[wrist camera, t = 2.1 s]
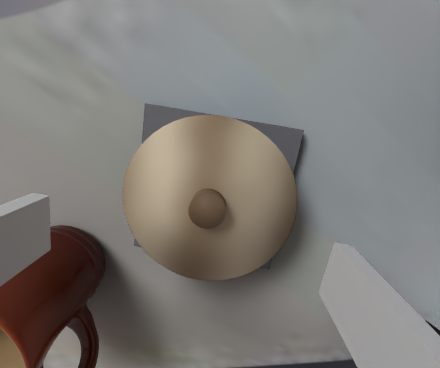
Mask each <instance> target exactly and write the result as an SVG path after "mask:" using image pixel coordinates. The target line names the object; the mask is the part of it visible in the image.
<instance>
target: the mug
mask: <svg viewBox="0 0 440 368" xmlns="http://www.w3.org/2000/svg"><path fill="white" fill-rule="evenodd" d="M50 241H51V250H49V251H48V252H47V253H45V254H44V255H43V256H41V257H40V258H39V259H37V260H36V261H34V262H33V263H32V264H30V265H29V266H28V267H26V268H25V269H24V270H22V271H21V272H19V273H18V274H17V275H15V276H14V277H13V278H11V279H10V280H9V281H7V282H6V283H4V284H3V285H2V286H0V368H43V361H44V359H45V357H46V355H47V353H48V351H49V349H50V347H51V345H52V344H53V342H54V341H55V339H56V338H57V337H58V335H59V334H60V333H61V331H62V330H63V329H64V328H65V327H66V326H68V327H69V328H71V329H72V330H73V331H74V332H75V333H76V334H77V336H78V338H79V340H80V343H81V358H80V363H79V366H78V368H95V366H96V363H97V358H98V351H99V338H98V333H97V330H96V326H95V323H94V320H93V317H92V314H91V312H90V311H89V309H88V308H87V301H88V300H89V299H90V298H91V297H92V296H93V294H94V293H95V291H96V289H97V287H98V286H99V284H100V281H101V279H102V277H103V274H104V270H105V260H104V255H103V253H102V250H101V248H100V247H99V245H98V244H97V242H96V241H95V240H94V239H93V238H92V237H91V236H89V235H88V234H87V233H85V232H83V231H82V230H80V229H77V228H74V227H71V226H64V225H59V226H52V227H50Z"/></svg>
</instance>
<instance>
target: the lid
mask: <svg viewBox="0 0 440 368" xmlns="http://www.w3.org/2000/svg"><path fill="white" fill-rule="evenodd" d="M123 205H124V212H125V215H126V219H127V222H128V225H129V227H130V229H131V232H132V234H133V235H134V237H135V239H136V240H137V242H138V243H139V244H140V246H141V247H142V248H143V250H144V251H145V252H146V253H147V254H148V255H149V256H150V257H151V258H153V259H154V260H155V261H156V262H158V263H159V264H160V265H162V266H164V267H165V268H167V269H168V270H171V271H173V272H175V273H177V274H180V275H182V276H185V277H189V278H193V279H198V280H207V281H218V280H227V279H232V278H236V277H239V276H242V275H245V274H248V273H250V272H252V271H254V270H256V269H258V268H259V267H261V266H262V265H264V264H265V263H266V262H267V261H269V260H270V259H271V258H272V257H273V256H274V255H275V254H276V253H277V252H278V251H279V250H280V248H281V247H282V246H283V244H284V243H285V241H286V240H287V238H288V236H289V234H290V232H291V229H292V226H293V223H294V221H295V216H296V210H297V190H296V184H295V180H294V176H293V173H292V171H291V168H290V166H289V164H288V162H287V160H286V158H285V157H284V155H283V154H282V152H281V151H280V150H279V148H278V147H277V146H276V145H275V144H274V143H273V142H272V141H271V140H270V139H269V138H268V137H267V136H266V135H264V134H263V133H262V132H260V131H259V130H258V129H256V128H254V127H252V126H250V125H249V124H247V123H244V122H242V121H239V120H237V119H233V118H229V117H225V116H218V115H196V116H191V117H185V118H182V119H179V120H176V121H173V122H171V123H169V124H167V125H165V126H163V127H162V128H160V129H159V130H157V131H156V132H154V133H153V134H152V135H151V136H150V137H149V138H147V139H146V140H145V141H144V142H143V144H142V145H141V146H140V147H139V148H138V150H137V151H136V153H135V155H134V156H133V158H132V159H131V162H130V164H129V166H128V169H127V172H126V176H125V179H124V186H123Z"/></svg>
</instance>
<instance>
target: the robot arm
mask: <svg viewBox="0 0 440 368" xmlns="http://www.w3.org/2000/svg"><path fill="white" fill-rule="evenodd" d="M49 250H51V241H50V206H49V196H48V195H42V194H35V193H31V194H28V195H26V196H23V197H20V198H18V199H15V200H12V201H10V202H7V203H4V204H2V205H0V286H2V285H3V284H4V283H6V282H7V281H9V280H10V279H11V278H13V277H14V276H15V275H17V274H18V273H19V272H21V271H22V270H24V269H25V268H26V267H28V266H29V265H30V264H32V263H33V262H34V261H36V260H37V259H39V258H40V257H41V256H43V255H44V254H45V253H47V252H48V251H49ZM318 293H319V295H320V297H321V299H322V300H323V302H324V304H325V306H326V308H327V310H328V312H329V314H330V316H331V318H332V320H333V322H334V323H335V325H336V327H337V329H338V331H339V333H340V335H341V337H342V339H343V341H344V343H345V345H346V346H347V348H348V350H349V352H350V354H351V356H352V358H353V360H354V362H355V364H356V366H357V367H358V368H440V330H438V329H437V328H436V327H434V326H433V325H432V324H430V323H429V322H428V321H425V320H424V319H423V318H422V317H421V316H420V315H419V314H418V313H417V312H416V311H415V310H414V309H413V308H412V307H411V306H410V305H409V304H408V303H407V302H406V301H405V300H404V299H403V298H402V297H401V296H400V295H399V294H398V293H397V292H396V291H395V290H394V289H393V288H392V287H391V286H390V285H389V283H388V282H387V281H386V280H385V279H384V278H383V277H382V276H381V275H380V274H379V273H378V272H377V271H376V270H375V269H374V268H373V267H372V266H371V265H370V264H369V263H368V262H367V261H366V260H365V259H364V258H363V257H362V256H361V255H360V254H359V253H358V252H357V251H356V250H355V249H354V248H353V247H352V246H351V245H347V244H341V243H334V246H333V249H332V252H331V255H330V258H329V261H328V264H327V267H326V270H325V273H324V277H323V280H322V283H321V286H320V289H319V292H318Z"/></svg>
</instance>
